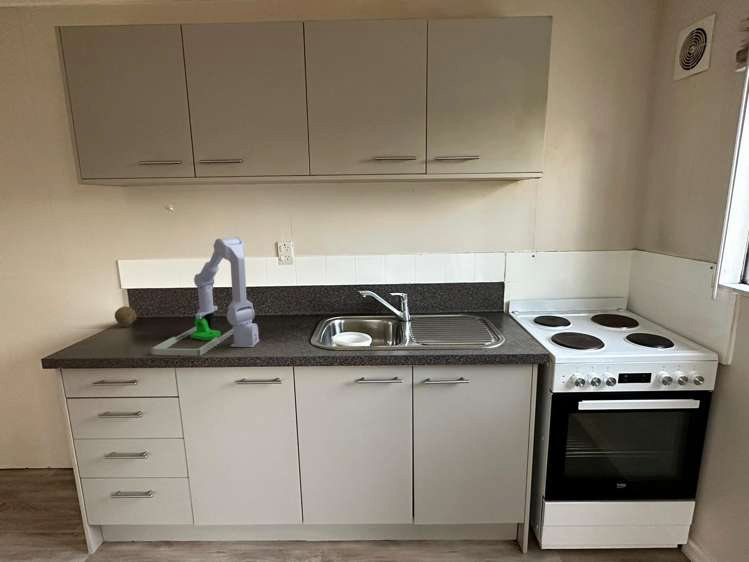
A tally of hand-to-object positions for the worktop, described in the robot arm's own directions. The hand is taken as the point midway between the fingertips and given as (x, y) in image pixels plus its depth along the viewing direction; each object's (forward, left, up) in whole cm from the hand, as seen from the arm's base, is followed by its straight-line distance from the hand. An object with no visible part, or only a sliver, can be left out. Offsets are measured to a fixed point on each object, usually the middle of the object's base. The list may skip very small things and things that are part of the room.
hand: (208, 329), depth 179 cm
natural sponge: (+48, -10, -2) cm, 49 cm away
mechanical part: (-1, +4, -2) cm, 5 cm away
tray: (0, +18, -2) cm, 19 cm away
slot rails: (0, +1, -2) cm, 3 cm away
